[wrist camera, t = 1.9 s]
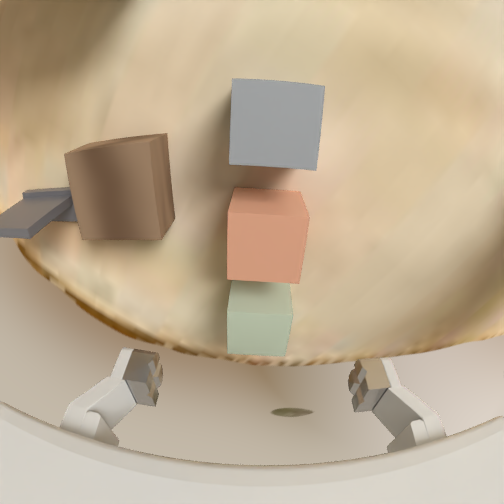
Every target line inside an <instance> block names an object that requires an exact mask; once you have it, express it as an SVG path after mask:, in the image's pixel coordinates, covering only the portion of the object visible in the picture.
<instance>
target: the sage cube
mask: <svg viewBox="0 0 504 504" xmlns="http://www.w3.org/2000/svg"><path fill="white" fill-rule="evenodd" d="M292 319H293V308H292V299H291V291H290V283H277V282H259V281H242V280H232V282H231V288H230V295H229V302H228V309H227V353H229V354H243V355H261V356H285V354H286V349H287V344H288V339H289V334H290V329H291V324H292Z"/></svg>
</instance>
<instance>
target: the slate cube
mask: <svg viewBox="0 0 504 504" xmlns="http://www.w3.org/2000/svg"><path fill="white" fill-rule="evenodd" d="M324 91H325V86H321V85H313V84H305V83H297V82H287V81H275V80H260V79H232V96H231V120H230V149H229V165H250V166H267V167H281V168H294V169H305V170H315V171H316V169H317V160H318V152H319V143H320V134H321V124H322V114H323V103H324Z"/></svg>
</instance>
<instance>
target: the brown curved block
mask: <svg viewBox="0 0 504 504" xmlns="http://www.w3.org/2000/svg"><path fill="white" fill-rule="evenodd" d="M64 156H65V162H66V168H67V174H68V179H69V185H70V190H71V195H72V199H73V204H74V208H75V213H76V217H77V221H78V225H79V229H80V233H81V236H82V240H162V238H163V237H164V235H165V234H166V232H167V230H168V229H169V227H170V226H171V224H172V222H173V221H174V219H175V213H174V204H173V195H172V185H171V175H170V163H169V151H168V137H167V133H165V134H154V135H144V136H136V137H128V138H120V139H113V140H106V141H100V142H94V143H89V144H87V145H84V146H82V147H79V148H77V149H75V150H72V151H70V152H68V153H65V154H64Z"/></svg>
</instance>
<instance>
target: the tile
mask: <svg viewBox="0 0 504 504" xmlns="http://www.w3.org/2000/svg"><path fill="white" fill-rule="evenodd" d="M22 194H23V199H22V200H21V201H19V202H18V203H16V204H15V205H13V206H12V207H11V208H9V209H8V210H6V211H5V212H3V213H2V214H1V215H0V237H9V238H25V239H31V238H32V237H33V236H34V235H35V234H36V233H38V232H39V231H40V230H41V229H42V228H43V227H45V226H46V225H47V224H48V223H49V222H51V221H77V217H76V213H75V208H74V204H73V199H72V195H71V190H70V187H67V188H49V189H35V190H27V191H25V192H23V193H22Z"/></svg>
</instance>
